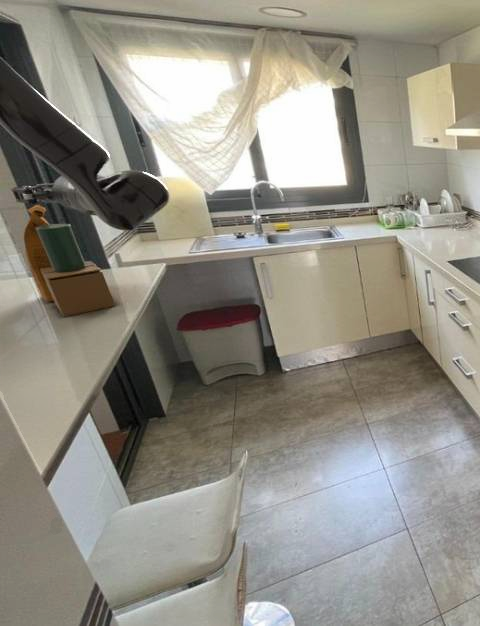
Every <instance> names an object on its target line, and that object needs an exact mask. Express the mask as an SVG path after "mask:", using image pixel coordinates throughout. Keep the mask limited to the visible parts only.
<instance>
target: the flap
mask: <svg viewBox="0 0 480 626" xmlns="http://www.w3.org/2000/svg"><path fill="white" fill-rule="evenodd" d="M95 271H102V269H101V268H100V267H98V265H96V264H95V266H89V267H86V268H84V269H81V270H76V271H71V272H53V273H46V274H44V275H45V276H46V278H47V279H54V278H59V277H65V276H71V275H77V274H83V273H89V272H95Z"/></svg>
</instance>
